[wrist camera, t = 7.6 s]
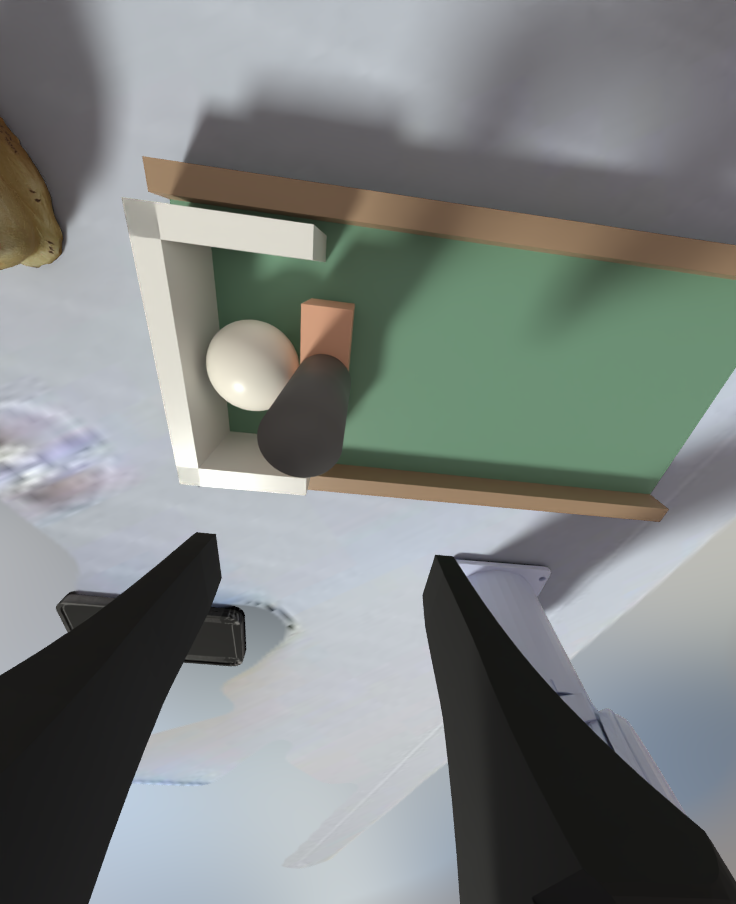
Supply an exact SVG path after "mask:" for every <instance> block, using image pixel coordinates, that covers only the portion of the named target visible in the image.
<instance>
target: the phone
mask: <svg viewBox="0 0 736 904" xmlns="http://www.w3.org/2000/svg"><path fill="white" fill-rule="evenodd" d="M114 599H115V598H108V597H97V596H86V595H78V594H77V592H76V591H72V592H69V593H68V594H67V595H66V596H65V597H64V598H63V599H62V600H61V601H60V602H59V604H58V605H57V606H56V609H57V612H58V614H59V616H60V618H61V620H62V622H63V624H64V626H65V628H66V630H67V632H69V631H71V630H72V629H74V628H75V627H77V626H78V625H80V624H81V623H82V622H84V621H85V620H87V619H88V618H89V617H91V616H92V615H94V614H95V613H96V612H98V611H99V610H100V609H102V608H103V607H104V606H106V605H107V604H108V603H110V602H111V601H112V600H114ZM245 652H246V629H245V614H244V612H243V610H242V609H240V608H239V607H236V606H232V605H231V606H224V607H220V608H215V607H211V608H210V610H209V612H208V614H207V616H206V618H205V620H204V622H203V624H202V626H201V628H200V630H199V632H198V634H197V636H196V638H195V640H194V642H193V644H192V646H191V648H190V650H189V652H188V654H187V656H186V658H185V660H184V663H197V664H210V665H223V666H238V665H240V664H241V663H242V662H243V658H244V655H245Z"/></svg>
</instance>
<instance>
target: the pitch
mask: <svg viewBox="0 0 736 904" xmlns="http://www.w3.org/2000/svg"><path fill="white" fill-rule="evenodd" d="M142 157H143V163H144V169H145V175H146V181H147V187H148V192H151V193H154V194H157V195H159V196H162V197H165V198H168V199H170V204H173V205H180V206H187V207H194V208H201V209H208V210H215V211H222V212H229V213H236V214H243V215H250V216H257V217H264V218H272V219H279V220H286V221H293V222H300V223H307V224H314V225H315V226H316V227H317V228H318V229H319V230H321V231H322V232H323V233H324V234H325V235H326V236H327V241H326V262H319V261H312V260H304V259H297V258H290V257H282V256H275V255H267V254H260V253H253V252H245V251H238V250H230V249H223V248H216V247H211V250H212V260H213V269H214V279H215V289H216V299H217V309H218V319H219V328H220V330H221V329H222V328H223V327H225V326H226V325H228V324H230V323H233V322H235V321H240V320H258V321H262V322H265V323H268V324H270V325H272V326H274V327H276V328H277V329H279V330H280V331H281V332H282V333H283V334H285V335H286V337H287V338H288V339H289V340H290V341H291V343H292V345H293V346H294V348H295V350H296V353H297V356H298V359H299V365H300V347H301V304H302V303H303V302H305V301H307V300H309V299H311V298H314V299H322V300H330V301H338V302H346V303H354V304H355V309H354V320H353V332H352V343H351V354H350V365H349V374H350V378H351V388H350V396H349V403H348V411H347V419H346V426H345V434H344V441H343V448H342V453H341V456H340V458H339V460H338V461H337V463H336V464H335V465H334V466H333V467H332V468H331V469H330V470H329V471H327V472H325V473H323V474H321V475H318V476H315V477H311V478H310V482H309V485H308V489H307V490H318V491H329V492H340V493H350V494H361V495H372V496H383V497H394V498H405V499H416V500H427V501H438V502H448V503H459V504H470V505H481V506H492V507H503V508H514V509H525V510H536V511H546V512H557V513H568V514H579V515H590V516H601V517H612V518H623V519H634V520H644V521H655V522H660V521H661V520H662V518H663V517H664V515H665V514H666V513H667V511H668V510H669V509H668V508H667V507H665V506H664V505H663V504H662V503H660V502H659V501H658V500H657V499H655V498H654V497H653V496H651V495H650V494H651V492H652V491H653V489H654V488H655V486H656V485H657V483H658V482H659V480H660V479H661V477H662V476H663V474H664V473H665V471H666V470H667V469H668V467H669V466H670V464H671V463H672V461H673V460H674V458H675V457H676V455H677V454H678V452H679V451H680V449H681V448H682V446H683V445H684V443H685V442H686V440H687V439H688V437H689V436H690V434H691V433H692V431H693V430H694V429H695V427H696V426H697V424H698V423H699V421H700V420H701V418H702V417H703V415H704V414H705V412H706V411H707V409H708V408H709V406H710V405H711V403H712V402H713V400H714V399H715V397H716V396H717V394H718V393H719V392H720V390H721V389H722V387H723V386H724V384H725V383H726V381H727V380H728V378H729V377H730V375H731V374H732V372H733V371H734V369H735V368H736V245H730V244H724V243H717V242H710V241H704V240H697V239H690V238H684V237H677V236H670V235H664V234H657V233H650V232H644V231H637V230H630V229H624V228H617V227H610V226H604V225H597V224H590V223H584V222H577V221H570V220H564V219H557V218H550V217H544V216H537V215H530V214H524V213H517V212H510V211H504V210H497V209H490V208H484V207H477V206H470V205H464V204H457V203H450V202H444V201H437V200H430V199H424V198H417V197H410V196H404V195H397V194H390V193H384V192H377V191H370V190H364V189H357V188H350V187H344V186H337V185H330V184H324V183H317V182H310V181H304V180H297V179H290V178H284V177H277V176H270V175H264V174H257V173H250V172H244V171H237V170H230V169H224V168H217V167H210V166H204V165H197V164H190V163H184V162H177V161H170V160H164V159H157V158H150V157H144V156H142ZM227 407H228V417H229V427H230V431H233V432H243V433H253V434H257V431H258V427H259V424H260V422H261V420H262V418H263V417H264V415H265V414H266V413H267V411H268V410H269V409H268V410H264V411H250V410H245V409H241V408H239V407H236V406H234V405H232V404H231V403H229V402H227Z"/></svg>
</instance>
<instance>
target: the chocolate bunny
mask: <svg viewBox="0 0 736 904" xmlns="http://www.w3.org/2000/svg"><path fill="white" fill-rule="evenodd" d="M62 240H63V236H62V232H61V229H60V226H59V224H58V223H57V221H56V218H55V216H54V212H53V208H52V201H51V196H50V193H49V191H48V189H47V186H46V184H45V182H44V180H43V178H42V177H41V175H40V173H39V172H38V169H37V168H36V166H35V165H34V164H33V162H32V160H31V158H30V157H29V156H28V154H27V152H26V151H25V150H24V149H23V148H22V147H21V145H20V141H19V139H18V138H17V137H16V136H15V135H14V134H13V133H12V132H11V130H10V129H9V128H8V127H7V126H6V124H5V123H4V120H3V118H1V117H0V270H2V269H5V268H9V267H13V266H15V265H18V264H20V263H21V264H23V265H26V266H30V267H36V268H39V267H40V266H41V265H44V264H50V263H52V262H53V261H54V260H56V259H57V258H58V257H59V256H60V255H61V254H62Z"/></svg>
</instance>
